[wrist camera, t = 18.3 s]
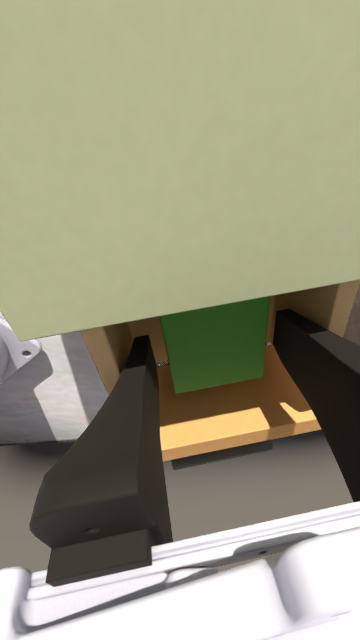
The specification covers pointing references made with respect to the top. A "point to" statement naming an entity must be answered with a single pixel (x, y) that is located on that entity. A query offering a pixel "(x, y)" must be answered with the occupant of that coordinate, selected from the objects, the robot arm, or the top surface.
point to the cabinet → (174, 156)
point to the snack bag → (216, 344)
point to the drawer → (226, 385)
